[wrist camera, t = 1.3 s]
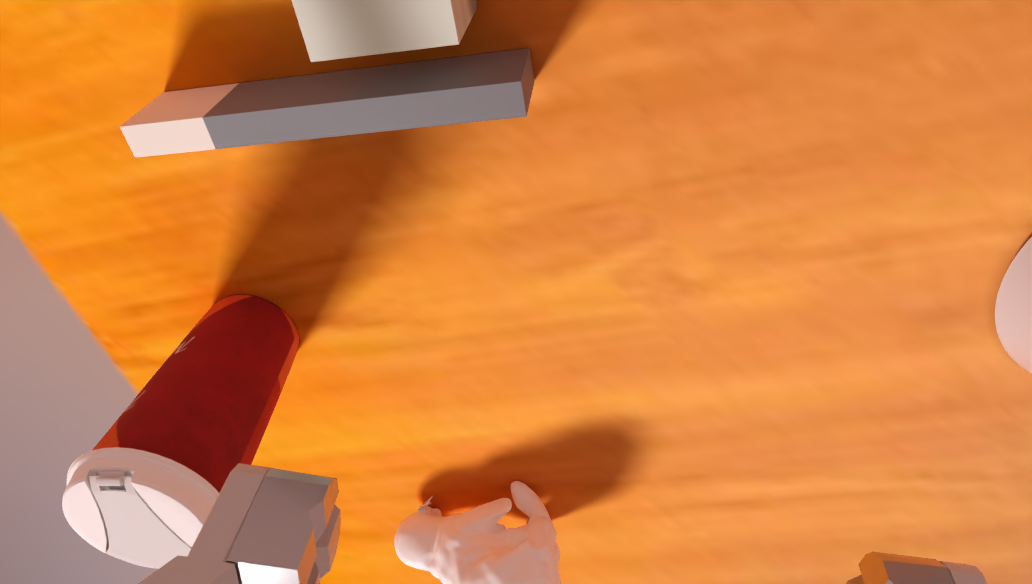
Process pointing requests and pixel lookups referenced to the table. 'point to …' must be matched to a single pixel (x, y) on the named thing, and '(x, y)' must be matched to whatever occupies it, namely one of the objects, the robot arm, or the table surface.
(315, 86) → the walled channel
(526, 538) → the white irregular piece
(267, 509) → the robot arm
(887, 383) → the table surface
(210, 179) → the table surface
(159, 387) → the paper cup
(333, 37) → the beige block
